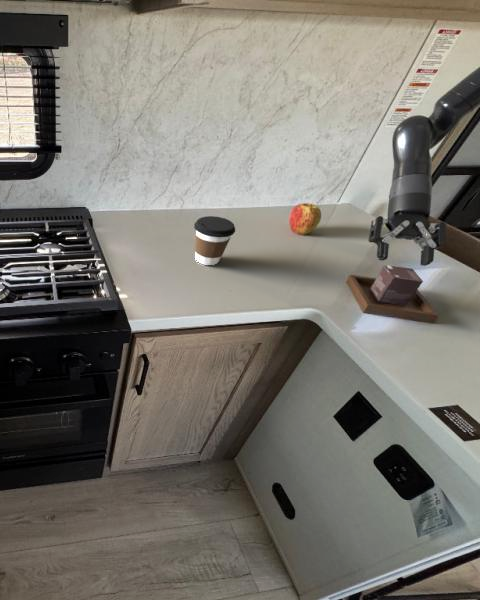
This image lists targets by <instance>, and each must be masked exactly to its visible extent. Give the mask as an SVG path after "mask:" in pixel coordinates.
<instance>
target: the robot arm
mask: <svg viewBox="0 0 480 600" xmlns="http://www.w3.org/2000/svg"><path fill="white" fill-rule="evenodd" d="M433 105H434V106H433V111H432V112H431V114H430V115H429V116H425V115H421V114H419V115H418V114H417V115H411V116H409V117H407V118H405V119H403V120H402V121H401V122H399V124H397V126H396V127H395V129H394V131H393V134H392V137H391V138H392V140H391V142H392V143H391V145H392V158H393V168H392V175H391V185H390V189H389V193H388V206H387V213H386V214H387V215H386V216H387V218H384V217H383V216H382V215H379V216H377V217H376V218H374V219H372V220H371V223H370V228H369V234H368V243H370V244H371V243H372V244H373V243H374V244H375V245H376V246H377V247H376V258H378V261H380V262H381V261H382V262H383V261H385V260H388V258H389V250H390V249H389V248H390V243H389V242H390V241H391V240H392V239H393V238H395V239H398V240H401V239H402V240H403V239H404V240H409V241H413V242H414V243H415V244H416V245H418V246H419V247H420V248H421V249H422V250H421V251H420V261H419V263H420V266H422V267H423V266H424V267H426V266H428V265H431V264H432V263H433V262H434V257H435V256H434V255H435V250H438V249H441V248H444V247H445V246H446V245H447V224H446V222H444V221H440V222H430V220H429V217H430V214H431V208H432V194H433V183H432V175H433V174H432V173H433V159H432V155H431V153H430V151H431V150H432V149H433V148H435V147H436V146H437V145H438V144H440V142H442V141H443V139H445V138H446V136H448V135H449V133H451V132H452V130H453V129H455V127H456V126H457V125H458V124H459V123H460V122H461V121H462V120H463V119H465V117H467V116H469V115H470V114H472V112H474V111H475V110H476V109H478V108H479V107H480V66H479V67H477V68H476V69H475V70H473V71H472V72H471V73H469V74H468V75H467V76H465V77H463V78H462V80H460V81H459V82H458V83H457V84H456V85H454V86H453V87H452V88H451V89H449V90H448V91H447V92H445V93H444V94H443V95H442V96H440V98H438V99H437V100H436V102H435V103H434V104H433ZM384 226H385V227H386V228H387V229H388V231H387V232H386V233H385V234H384V235H383V236H381V235H382V229H383V227H384ZM428 230H429V231H428ZM421 236H422V237H421Z"/></svg>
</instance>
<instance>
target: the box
mask: <svg viewBox="0 0 480 600" xmlns="http://www.w3.org/2000/svg"><path fill="white" fill-rule="evenodd" d="M375 278H376V280H375V281H374V283H373V285H372V287H371V288H370V290H371V292H372V293H373V295H374V296H375V298H376V300H377V301H378V302H381V303H388V304H395V305H401V306H407V304H408V302H409V301H410V300H411V298H412V297H413V295H414V294H415V292H416V291H417V290H419V288H420V286H421V285H422V284H423V282H424V280H423V279H422V277H420V275H418V274H417V272H416V271H415V270H414V268H410V267H402V266H394V265H386V264H385V265H383V266H382V268H381V269H380V271H379V272H378V275H377V276H376V277H375Z"/></svg>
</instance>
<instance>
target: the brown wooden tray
mask: <svg viewBox="0 0 480 600" xmlns="http://www.w3.org/2000/svg"><path fill="white" fill-rule="evenodd" d="M376 278H377V277H370V276H362V275H355V274H349V275H348V277H347V279H346V280H345V283H346V285H347V287H348V289H349V290H350V292H351V294H352V296H353V298H354V299H355V301H356V303H357V304H358V307H359V308H360V309H361V311H362V313H363V314H369V315H374V316H375V315H376V316H383V317H388V318H394V317H396V318H395V319H401V318H402V319H401V320H407V319H409V320H408V321H415V322H420V323H421V322H422V323H426V324H435V323H436V321H437V320H438V318H440V314H439V313H438V312H437V311H436V310H435V308H434V307H433V306H432V305H431V304H430V302H429V301H428V299H426V298H425V296H424V295H423V294H422V293H421V292H420V291H419V289H417V291H416V292H415V294H414V295H413V297H412V298H411V300H410V301H409V302H408V304H407V306H401V305H395V304H388V303H381V302H378V301H377V300H376V298H375V296H374V295H373V293H372V292H371V290H370V288H371V287H372V285H373V283H374V281H375V280H376Z"/></svg>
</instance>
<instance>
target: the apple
mask: <svg viewBox="0 0 480 600" xmlns="http://www.w3.org/2000/svg"><path fill="white" fill-rule="evenodd" d="M321 219H322V211H321V209H320V208H319V207H318V206H317V205H315V204H313V203H309V202H304V203H299V204H297V205H295V206H294V207H293V208H292V210H291V212H290V213H289V217H288V222H289V228H290V230H291V232H292V233H293V234H297V235H302V236H303V235H308V234H310V233H312V232H313V231H314V230H315V229H316V228H317V227H318V225H319V224H320V222H321Z"/></svg>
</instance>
